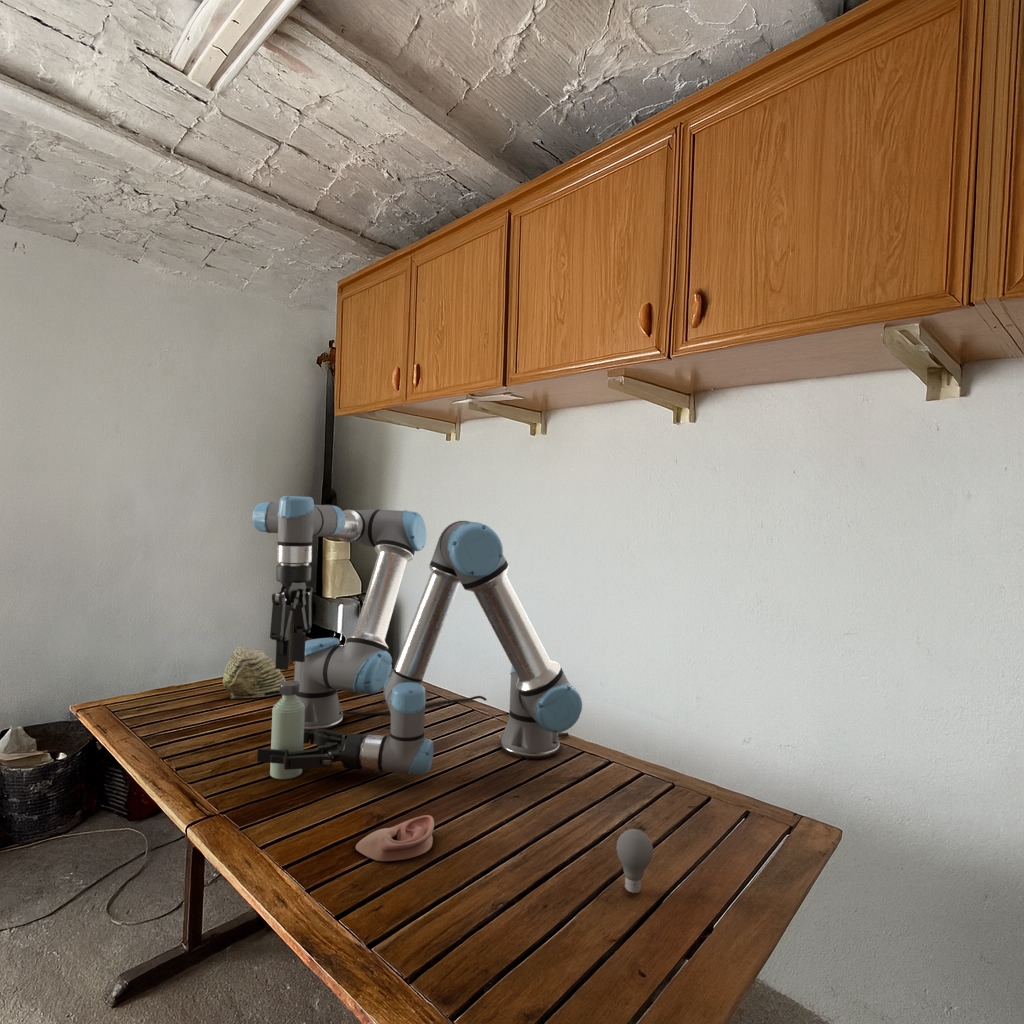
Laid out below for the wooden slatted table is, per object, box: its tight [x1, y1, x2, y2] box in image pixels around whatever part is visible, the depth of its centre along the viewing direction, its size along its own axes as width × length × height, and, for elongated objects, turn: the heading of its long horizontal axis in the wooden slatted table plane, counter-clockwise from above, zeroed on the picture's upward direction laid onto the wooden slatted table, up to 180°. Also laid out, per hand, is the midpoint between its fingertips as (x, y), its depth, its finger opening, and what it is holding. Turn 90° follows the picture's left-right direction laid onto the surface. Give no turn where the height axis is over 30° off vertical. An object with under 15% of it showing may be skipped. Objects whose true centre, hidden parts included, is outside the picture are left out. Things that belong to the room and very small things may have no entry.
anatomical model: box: [355, 814, 435, 862], centre depth 116 cm, size 13×4×12 cm
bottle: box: [269, 695, 305, 780], centre depth 144 cm, size 7×7×20 cm
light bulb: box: [615, 828, 654, 894], centre depth 106 cm, size 6×6×10 cm
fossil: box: [222, 646, 287, 699], centre depth 198 cm, size 9×18×15 cm, turn 132°
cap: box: [279, 680, 299, 696], centre depth 144 cm, size 4×4×2 cm
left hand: (290, 664), depth 144 cm, fingers open, 6 cm apart
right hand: (270, 744), depth 145 cm, fingers open, 11 cm apart
